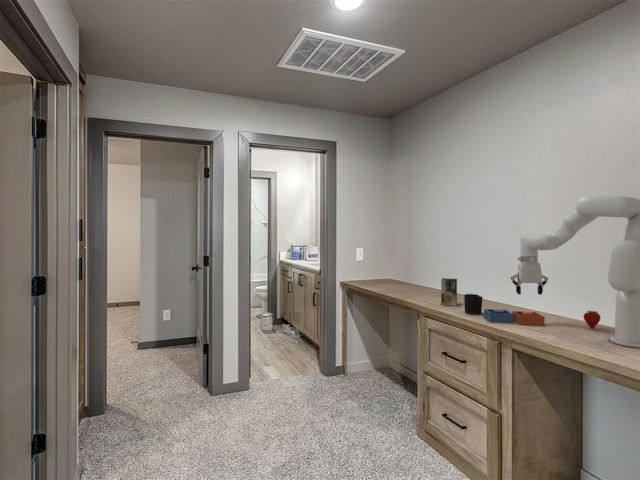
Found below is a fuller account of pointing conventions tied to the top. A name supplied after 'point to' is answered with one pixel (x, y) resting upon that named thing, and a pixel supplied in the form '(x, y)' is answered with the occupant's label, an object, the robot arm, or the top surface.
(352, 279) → the top surface
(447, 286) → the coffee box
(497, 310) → the blue block
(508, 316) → the blue bin
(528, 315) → the terracotta block
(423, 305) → the top surface
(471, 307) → the pen holder
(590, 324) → the strawberry
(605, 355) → the top surface
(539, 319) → the terracotta bin
